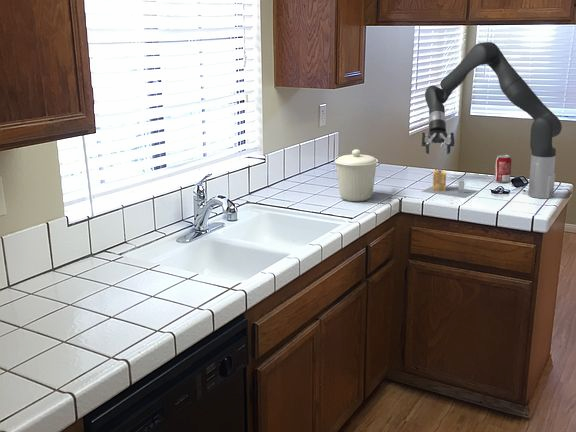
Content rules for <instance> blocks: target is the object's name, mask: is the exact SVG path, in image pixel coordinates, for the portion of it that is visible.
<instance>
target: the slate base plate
mask: <svg viewBox="0 0 576 432" xmlns="http://www.w3.org/2000/svg"><path fill="white" fill-rule="evenodd" d="M421 192H422V193H429V194H434V195H435V194H436V195H442V196H447V197H455V198H461V199H467V198H469V197H470V196H472V195H475V194H476V193H478V192H479V190H476V189H469V188H468V189H467V188H464V193H458V187H453V186H447V185H446V189H445V191H433V185H431V186H430V187H428V188H426V189H424V190H421Z"/></svg>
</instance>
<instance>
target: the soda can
mask: <svg viewBox="0 0 576 432" xmlns="http://www.w3.org/2000/svg"><path fill="white" fill-rule="evenodd" d="M494 168H495V169H494V181H495V182H496V183H499V184H507V183H509V182H510V181H511V172H512V171H511V170H512V159H511V155H509V154H499V155H497V157H496V159H495V167H494Z"/></svg>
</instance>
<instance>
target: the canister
mask: <svg viewBox="0 0 576 432" xmlns="http://www.w3.org/2000/svg"><path fill="white" fill-rule="evenodd" d="M333 161H334V163H335V166H336V174H337V183H338V184H337V185H338V189H339V190H338V191H339V195H340V197H341V199H343V200H344V201H348V202H363V201H367V200H369V199H371V197H372V195H373V192H374V186H375V178H376V177H375V176H376V171H377V164H378V163H379V160H378V159H377V158H375V157H374V156H372V155H368V154H361V151H360V149H353V150H352V151H351V154H346V155H344V154H343V155H341V156H339V157H337V158H336V159H334V160H333Z"/></svg>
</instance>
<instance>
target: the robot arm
mask: <svg viewBox="0 0 576 432" xmlns="http://www.w3.org/2000/svg"><path fill="white" fill-rule="evenodd" d="M484 65H487V66H489V67H490V68H491V70H492V71H493V72H494V73H495V75H496V76H497V79H498V84H499V87H500V90H501V91H502V94H504V95H505V96H506V98H507V99H508V100H509V101H510V102H511V104H513V105H514V106H516V107H517V108H519V109H520V110H522V111H523V112H525V113H526V114H528V115H529V116H530V117H531V118H532V119H533V121H532V123H531V126H530V127H531V128H530V135H529V136H530V139H529V140H530V142H529V144H530V146H529V147H530V151H531V155H530V156H531V157H530V166H529V167H530V168H529V180H528V190H527V191H528V193H527V195H528V196H529V197H532V198H535V199H550V198H552V197H553V196H554V191H555V180H556V173H555V167H556V166H555V165H556V153H557V149H556V147H554V146H553V138H554V137H557V136H559V135H560V134H561V132H562V127H563V126H562V122H561V120H560V118H559V117H558V116H557V115H555V113H553V112H552V111H551V110H550V109H549V108H548V107H547V106H546V105H545V104H544V103H543V102H542V100H541V99H540V98H539V97H538V96H537V95H536V93H535V92H534V91H533V90H532V88H530V86H529V84H527V82H526V81H525V80H524V79H523V78H522V77H521V76H520V75H519V74H518V72H517V71H516V69H515V68H513V66H512V65H511V63H509V61H508V59H506V57H505V55H504V54H503V53H502V51H501V50H500V48H499V47H498V45H497V44H495V43H493V42H492V41H490V42H489V41H486V42H485V41H484V42H479V43H476V44H475V45H473V47H472V48H470V50H469V51H468V53H467V54H466V55H465V57H464V58H463V59H462V60H461V61H460V63H459V64H458V65H457V66H455V68H454V69H452V71H451V72H449V73H448V74H447V75H446V76H445V77H444V78H443V79H442V80H441V81H440V84H439V85H440V87H438V86H437V85H429V86H428V87H427V88H426V90H425V92H424V97H425V102H426V105H427V108H428V114H429V115H428V116H429V117H428V133H426V132H424V131H423V132H422V133H421V147H425V153H426V154H427V155H430V146H431V145H432V144H443V145H445V147H446V155H449V154H450V153H451V147H454V146H455V134H454V132H450V133H447V120H446V111H445V110H446V109H445V105H444V104H445V103H446V102H447V101H448V99H449V98H450V96H451V94H452V93H453V91H454V90H456V89H457V88H458V87H459V86H460V85H461V84H462V83H464V81H465V80H466V78H467V76H468V75H469V73H471V71H472V70H474V69H476V68H477V67H479V66H484ZM427 138H428V140H427V141H425V140H426V139H427ZM448 139H449V140H450V141H449V140H448Z"/></svg>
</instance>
